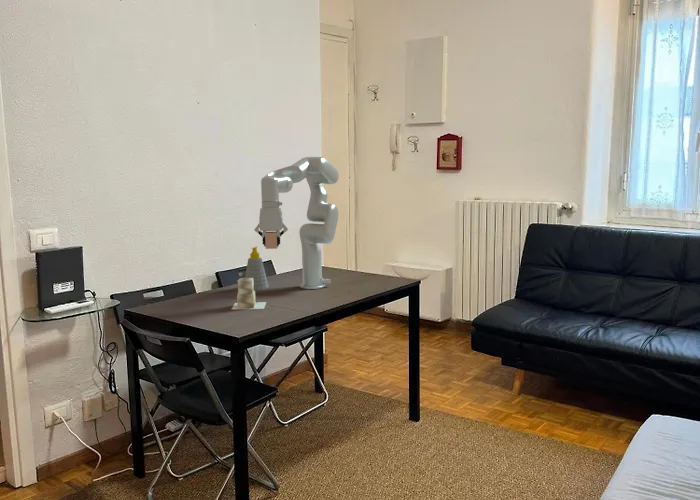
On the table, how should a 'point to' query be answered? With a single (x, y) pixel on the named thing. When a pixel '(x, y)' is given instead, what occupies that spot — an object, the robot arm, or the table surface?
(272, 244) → the top block
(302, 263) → the robot arm
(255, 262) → the soap bottle
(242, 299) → the tower base
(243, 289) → the tower mid
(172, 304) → the table surface
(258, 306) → the mat
